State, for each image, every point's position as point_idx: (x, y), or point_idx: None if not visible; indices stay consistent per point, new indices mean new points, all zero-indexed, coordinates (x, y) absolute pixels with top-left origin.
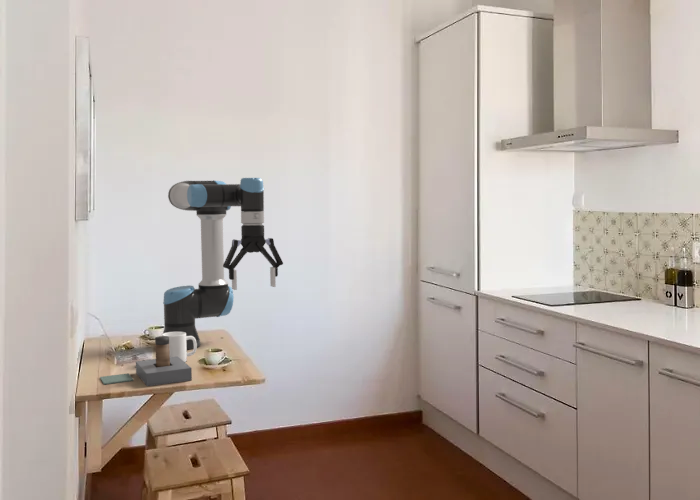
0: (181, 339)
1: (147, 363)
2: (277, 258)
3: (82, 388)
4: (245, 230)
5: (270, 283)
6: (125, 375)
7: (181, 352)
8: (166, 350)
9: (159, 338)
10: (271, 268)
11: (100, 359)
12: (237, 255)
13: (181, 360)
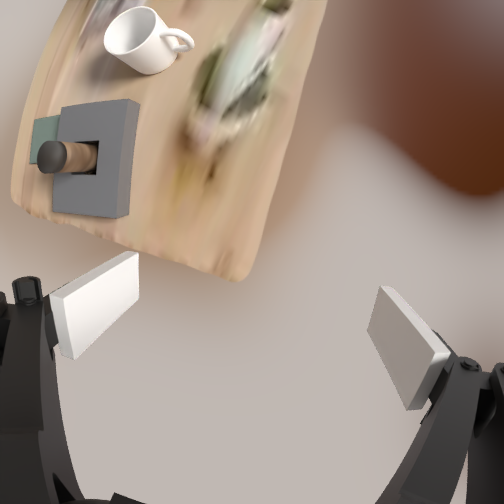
0: (137, 54)
1: (69, 133)
2: (470, 455)
3: (13, 169)
4: None
5: (384, 292)
6: (57, 127)
7: (150, 65)
8: (67, 171)
9: (41, 166)
10: (419, 373)
11: (79, 4)
12: (4, 397)
13: (120, 140)
